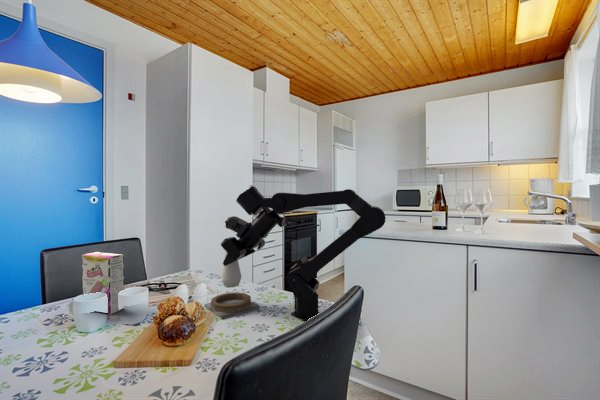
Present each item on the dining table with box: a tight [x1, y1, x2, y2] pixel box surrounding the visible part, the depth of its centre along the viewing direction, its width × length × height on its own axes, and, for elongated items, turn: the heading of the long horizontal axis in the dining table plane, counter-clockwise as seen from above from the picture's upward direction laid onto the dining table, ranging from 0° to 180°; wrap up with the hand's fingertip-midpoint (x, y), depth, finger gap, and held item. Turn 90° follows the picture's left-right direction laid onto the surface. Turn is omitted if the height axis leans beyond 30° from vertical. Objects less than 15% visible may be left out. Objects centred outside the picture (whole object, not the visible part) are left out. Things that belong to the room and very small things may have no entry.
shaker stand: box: [203, 292, 260, 320], centre depth 89 cm, size 12×12×3 cm
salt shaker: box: [220, 247, 242, 288], centre depth 89 cm, size 6×6×13 cm
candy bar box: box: [81, 251, 125, 316], centre depth 87 cm, size 11×5×16 cm, turn 71°
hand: (227, 263), depth 89 cm, fingers closed on salt shaker, 3 cm apart
